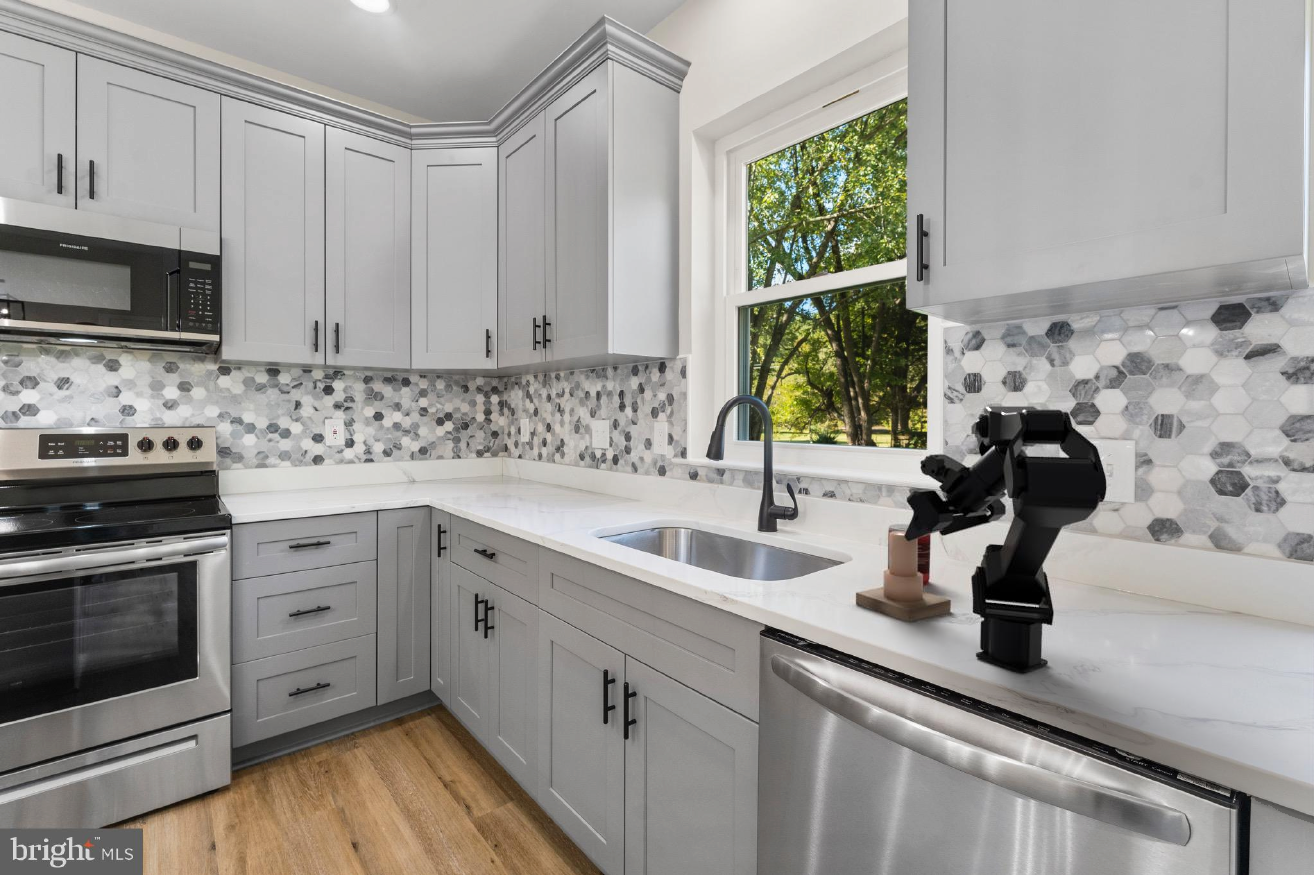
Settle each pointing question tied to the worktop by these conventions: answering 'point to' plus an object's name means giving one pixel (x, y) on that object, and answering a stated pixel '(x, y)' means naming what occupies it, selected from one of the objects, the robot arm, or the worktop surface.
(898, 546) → the peach chess pawn
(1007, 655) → the robot arm
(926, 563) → the canned food
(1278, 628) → the worktop surface
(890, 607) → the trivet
